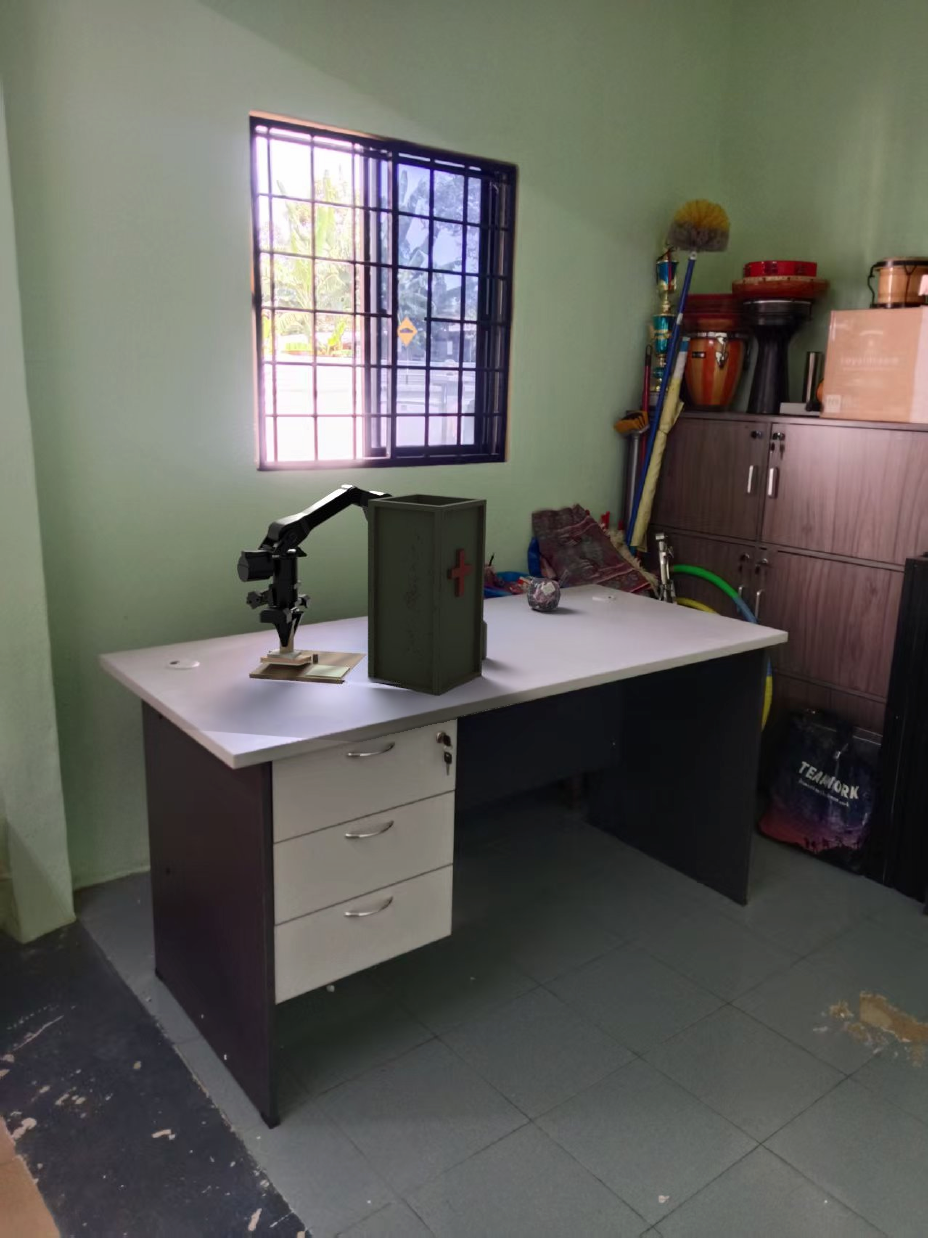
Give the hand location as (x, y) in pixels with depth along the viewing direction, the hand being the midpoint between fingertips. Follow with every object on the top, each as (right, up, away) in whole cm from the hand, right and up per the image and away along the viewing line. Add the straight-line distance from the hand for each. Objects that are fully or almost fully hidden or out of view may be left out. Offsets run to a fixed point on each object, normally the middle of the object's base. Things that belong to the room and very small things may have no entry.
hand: (286, 645), depth 222 cm
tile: (0, -3, 0) cm, 3 cm away
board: (+5, -5, +3) cm, 8 cm away
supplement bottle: (+42, -4, +15) cm, 45 cm away
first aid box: (+32, -8, -3) cm, 33 cm away
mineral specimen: (+64, +9, +69) cm, 94 cm away
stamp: (0, -2, -1) cm, 3 cm away
